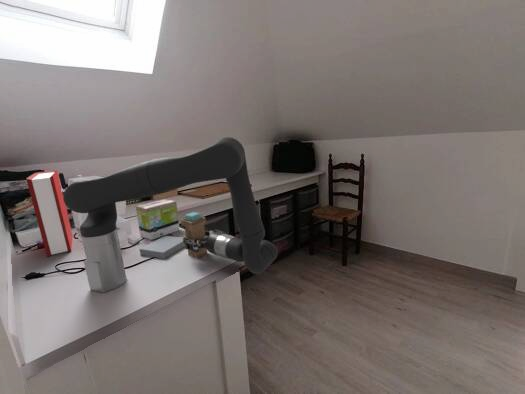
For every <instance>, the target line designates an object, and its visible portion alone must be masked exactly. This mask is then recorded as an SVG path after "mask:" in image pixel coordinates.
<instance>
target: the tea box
mask: <svg viewBox="0 0 525 394" xmlns="http://www.w3.org/2000/svg"><path fill="white" fill-rule="evenodd" d="M135 210H136V217H137V223H138V224H137V225H138V230H139V236H140V237H142V238H144V239H148V240H149V241H154V240H155V239H157V238H162V237H164V236H168V235H169V234H172V233H175V232H178V231H180V230H181V229H180V222H179V221H180V220H179V213H178V205H177V201H176V200H170V199H161V200H157V201H152V202H148V203H143V204H139V205H136V206H135Z"/></svg>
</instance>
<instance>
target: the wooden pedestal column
mask: <svg viewBox="0 0 525 394" xmlns="http://www.w3.org/2000/svg"><path fill="white" fill-rule="evenodd" d="M180 224H181V226H183V227H184V232H185V237H187V238H190V239H195V238H196V237H204V236H205V230H206V228H205V224H207V218H206V217H205V216H201V219H200V220H197V221H194V222H189V221H186V220H185V218H183V219H180ZM192 242H193V243H195V242H194V241H192ZM198 244H200V240H198ZM207 254H208V250H207V249H206V248H199V251H198V252H195V251H191V250H188V249H187V255H188V256H190V257H193V258H195V259H198V258H201V257H203V256H205V255H207Z"/></svg>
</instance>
